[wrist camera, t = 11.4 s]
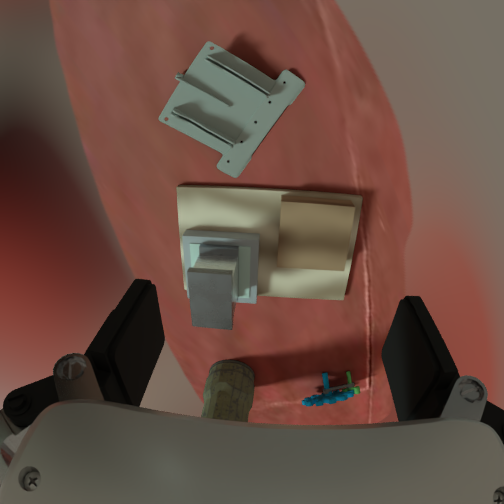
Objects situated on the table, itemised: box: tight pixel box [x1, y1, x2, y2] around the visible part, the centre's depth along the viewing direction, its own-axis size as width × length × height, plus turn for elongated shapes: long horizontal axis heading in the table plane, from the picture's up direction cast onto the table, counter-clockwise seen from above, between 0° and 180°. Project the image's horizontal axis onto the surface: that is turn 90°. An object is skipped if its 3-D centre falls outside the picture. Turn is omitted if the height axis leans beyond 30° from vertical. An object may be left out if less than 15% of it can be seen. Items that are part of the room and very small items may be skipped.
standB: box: [182, 230, 260, 304], centre depth 44 cm, size 10×10×2 cm
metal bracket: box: [159, 42, 305, 178], centre depth 35 cm, size 14×6×15 cm
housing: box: [187, 244, 239, 330], centre depth 40 cm, size 8×5×7 cm, turn 179°
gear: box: [302, 371, 360, 406], centre depth 54 cm, size 11×6×10 cm
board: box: [177, 185, 363, 300], centre depth 43 cm, size 16×24×1 cm, turn 88°
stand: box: [277, 195, 355, 271], centre depth 40 cm, size 9×9×2 cm
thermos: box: [201, 360, 255, 422], centre depth 42 cm, size 9×12×35 cm
